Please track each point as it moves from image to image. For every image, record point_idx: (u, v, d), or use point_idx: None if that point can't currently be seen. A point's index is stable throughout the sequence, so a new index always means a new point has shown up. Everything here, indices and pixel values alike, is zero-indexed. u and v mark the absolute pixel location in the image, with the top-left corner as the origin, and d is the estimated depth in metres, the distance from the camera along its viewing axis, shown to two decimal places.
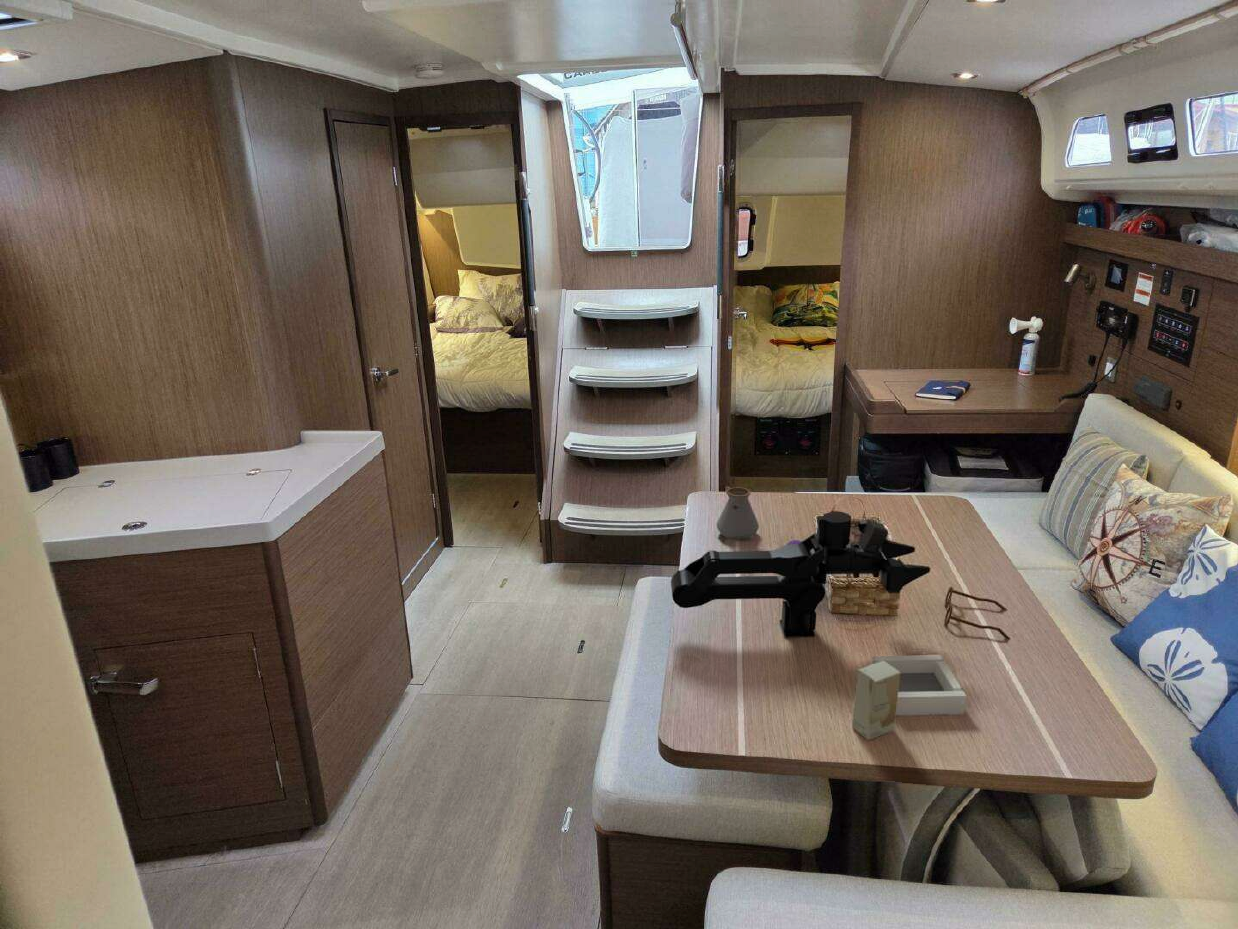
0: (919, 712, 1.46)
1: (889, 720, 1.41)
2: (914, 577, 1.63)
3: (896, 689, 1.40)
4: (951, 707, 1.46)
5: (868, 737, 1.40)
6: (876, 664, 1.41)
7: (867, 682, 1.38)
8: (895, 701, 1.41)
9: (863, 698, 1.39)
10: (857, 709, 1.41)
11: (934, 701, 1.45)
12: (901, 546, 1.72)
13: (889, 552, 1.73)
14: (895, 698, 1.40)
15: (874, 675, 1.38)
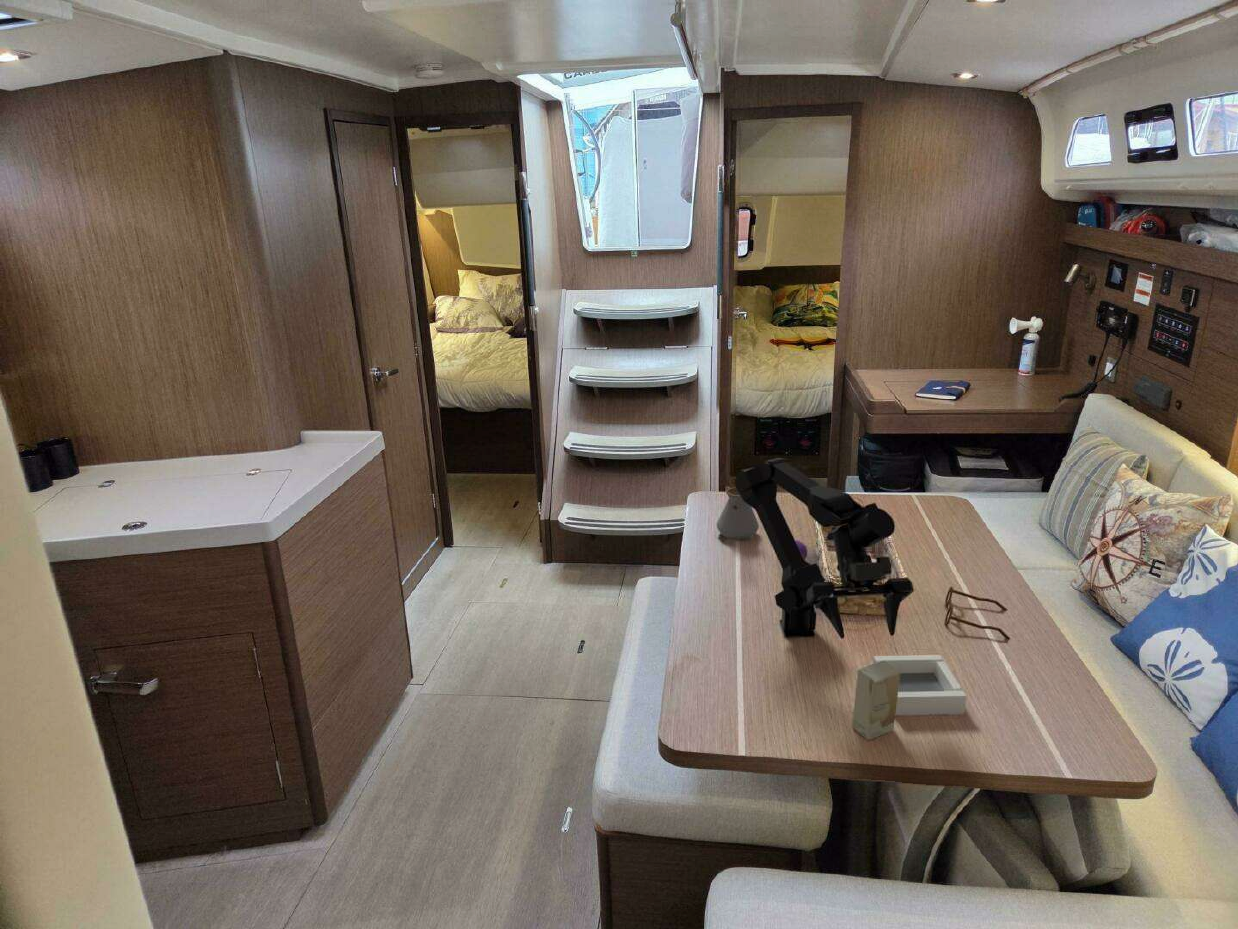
0: (919, 712, 1.46)
1: (889, 720, 1.41)
2: (831, 621, 1.49)
3: (896, 689, 1.40)
4: (951, 707, 1.46)
5: (868, 737, 1.40)
6: (876, 664, 1.41)
7: (867, 682, 1.38)
8: (895, 701, 1.41)
9: (863, 698, 1.39)
10: (857, 709, 1.41)
11: (934, 701, 1.45)
12: (890, 618, 1.47)
13: (887, 608, 1.49)
14: (895, 698, 1.40)
15: (874, 675, 1.38)
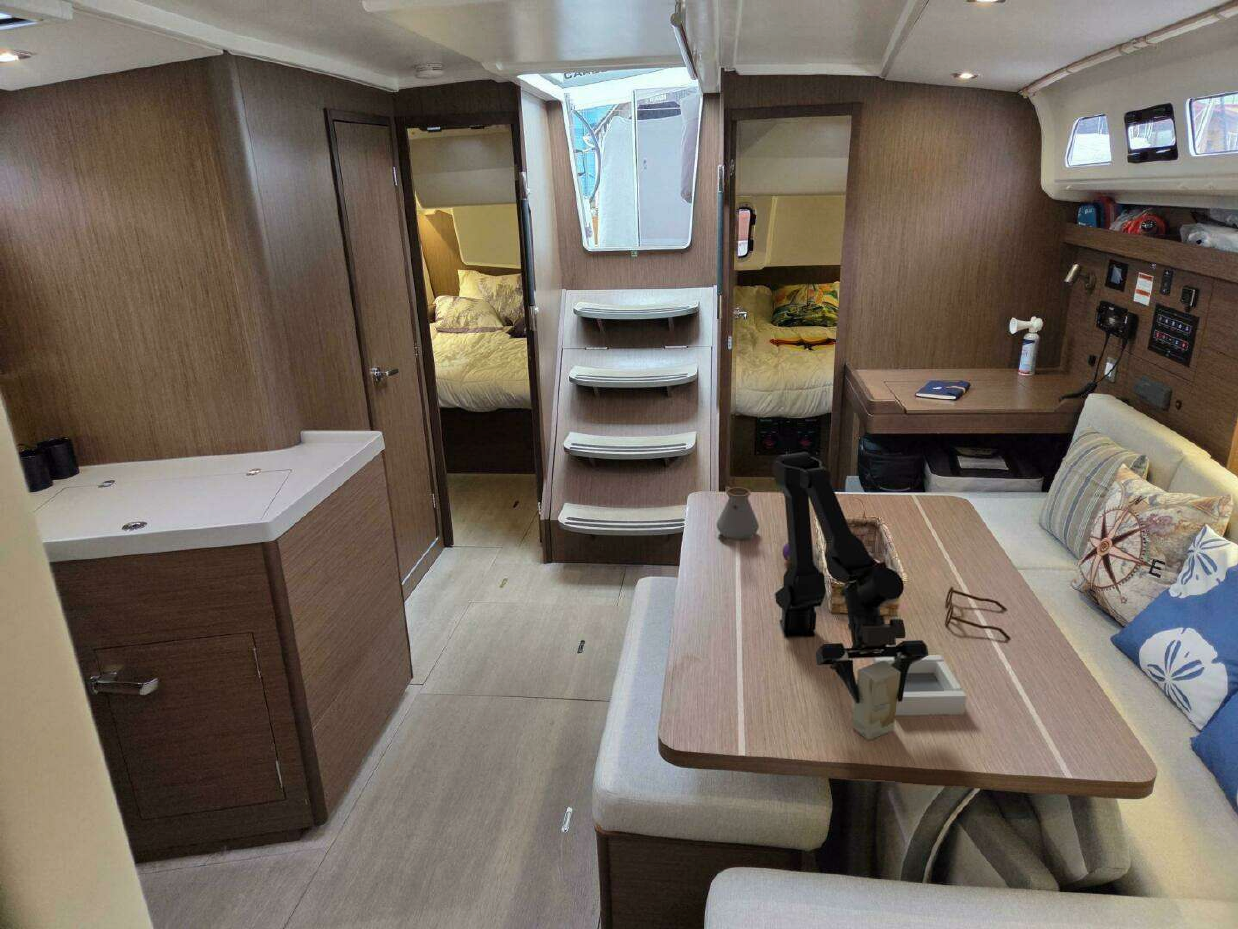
0: (919, 712, 1.46)
1: (889, 720, 1.41)
2: (846, 684, 1.42)
3: (896, 689, 1.40)
4: (951, 707, 1.46)
5: (868, 737, 1.40)
6: (876, 664, 1.41)
7: (867, 682, 1.38)
8: (895, 701, 1.41)
9: (863, 698, 1.39)
10: (858, 708, 1.41)
11: (934, 701, 1.45)
12: None
13: None
14: (895, 698, 1.40)
15: (874, 675, 1.38)
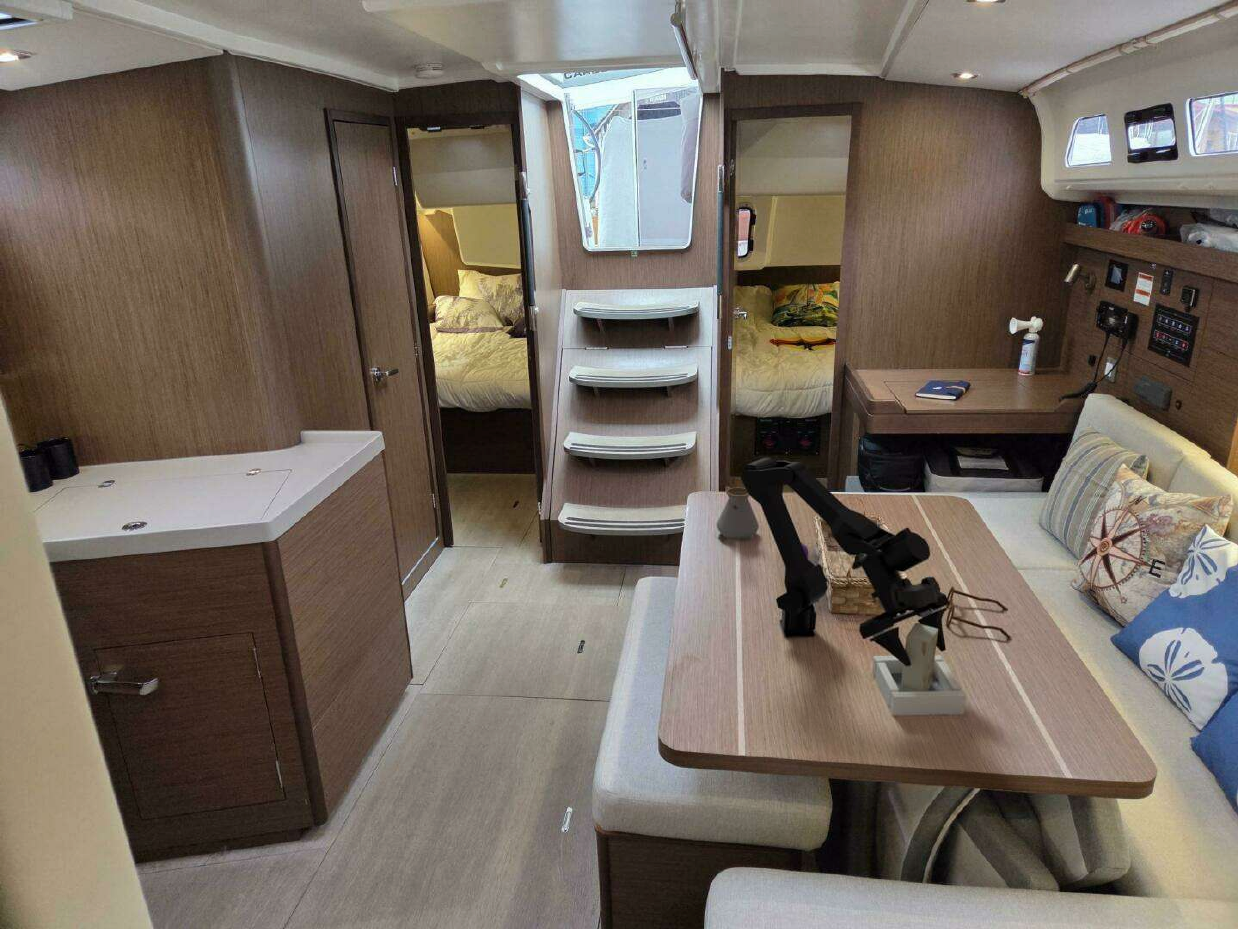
0: (919, 712, 1.46)
1: (931, 676, 1.51)
2: (891, 651, 1.48)
3: (935, 645, 1.50)
4: (951, 707, 1.46)
5: None
6: (915, 627, 1.50)
7: (919, 645, 1.46)
8: (934, 657, 1.51)
9: (915, 661, 1.47)
10: (907, 673, 1.49)
11: (934, 701, 1.45)
12: (938, 635, 1.51)
13: (928, 625, 1.53)
14: (934, 654, 1.51)
15: (923, 637, 1.47)
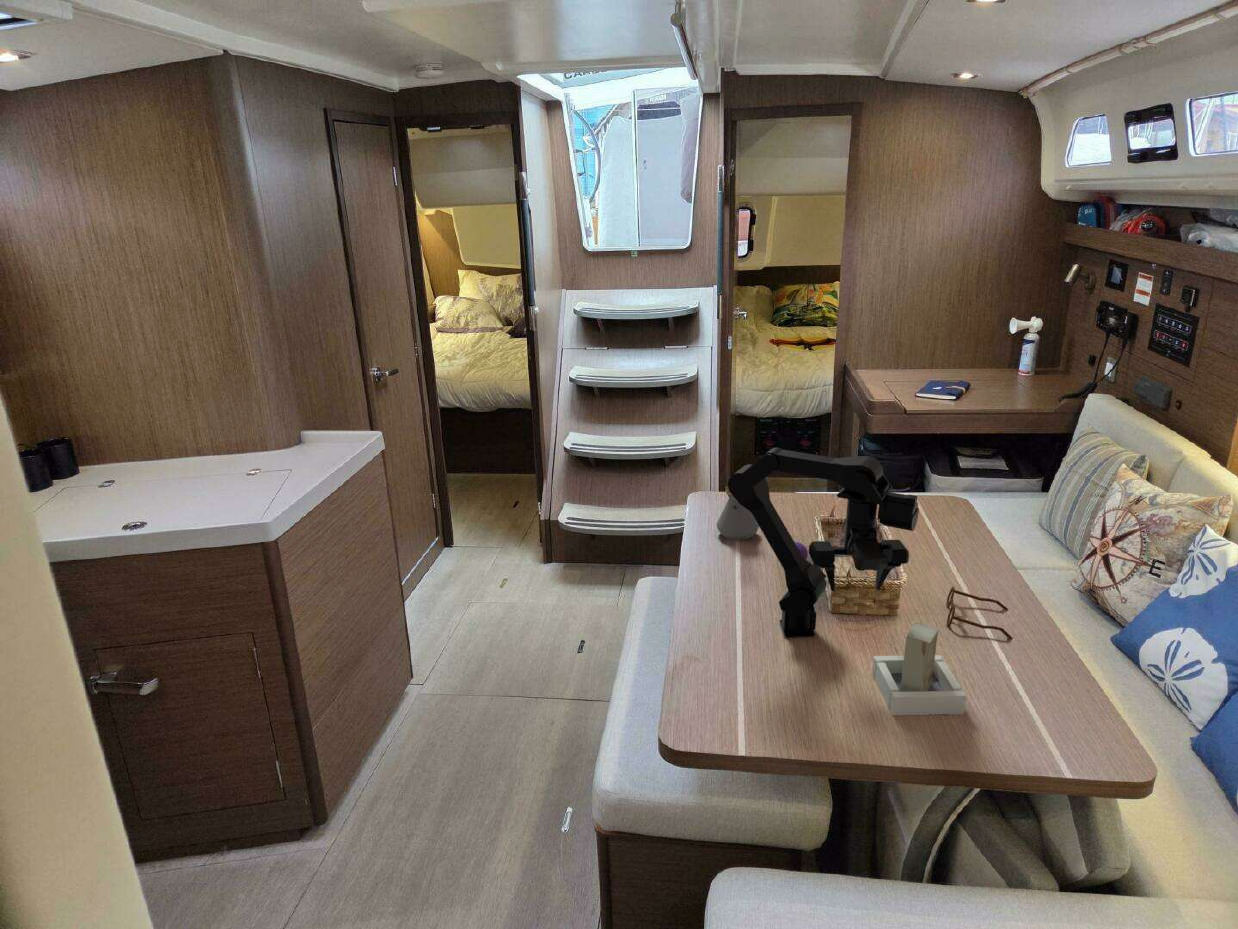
0: (919, 712, 1.46)
1: (931, 676, 1.51)
2: (826, 572, 1.64)
3: (935, 645, 1.50)
4: (951, 707, 1.46)
5: None
6: (915, 627, 1.50)
7: (919, 645, 1.46)
8: (934, 657, 1.51)
9: (915, 661, 1.47)
10: (907, 673, 1.49)
11: (934, 701, 1.45)
12: (879, 578, 1.62)
13: None
14: (934, 654, 1.51)
15: (923, 637, 1.47)
